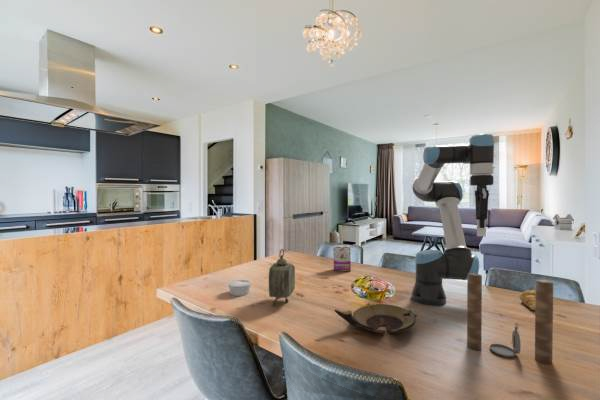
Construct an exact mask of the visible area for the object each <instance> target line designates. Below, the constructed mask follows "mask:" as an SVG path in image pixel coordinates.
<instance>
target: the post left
mask: <svg viewBox="0 0 600 400" xmlns="http://www.w3.org/2000/svg"><path fill="white" fill-rule="evenodd" d="M482 275H483V274H479V273H478V274H474V273H468V277H467V280H466V281H467V291H466V292H467V293H466V294H467V295H466V296H467V298H466V299H467V301H466V302H467V304H466V305H467V306H466V307H467V310H466V315H467V316H466V322H467V323H466V346H467V348H468V349H471V351H481V350H482V328H483V327H482V321H483V319H482V317H483V316H482V315H483V314H482V311H483V308H482V307H483V306H482V304H483V301H482V299H483V294H482V293H483V276H482Z"/></svg>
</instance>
